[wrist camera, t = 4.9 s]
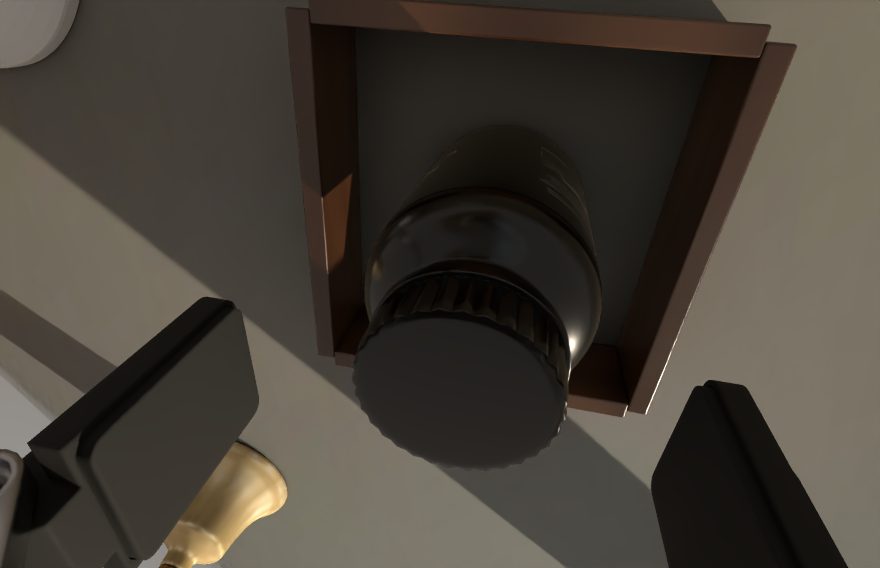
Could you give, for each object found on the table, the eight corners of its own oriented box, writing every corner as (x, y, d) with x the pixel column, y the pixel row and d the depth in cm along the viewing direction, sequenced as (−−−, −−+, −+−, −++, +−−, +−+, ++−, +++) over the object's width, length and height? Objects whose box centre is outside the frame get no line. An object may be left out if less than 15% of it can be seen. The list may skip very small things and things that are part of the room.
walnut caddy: (747, 25, 15) (806, 26, 12) (628, 361, 23) (643, 422, 19) (333, -4, 17) (282, -9, 14) (349, 315, 25) (318, 362, 21)
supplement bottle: (417, 127, 19) (270, 251, 9) (588, 117, 18) (649, 253, 7) (433, 272, 22) (340, 484, 12) (578, 274, 21) (610, 517, 11)
